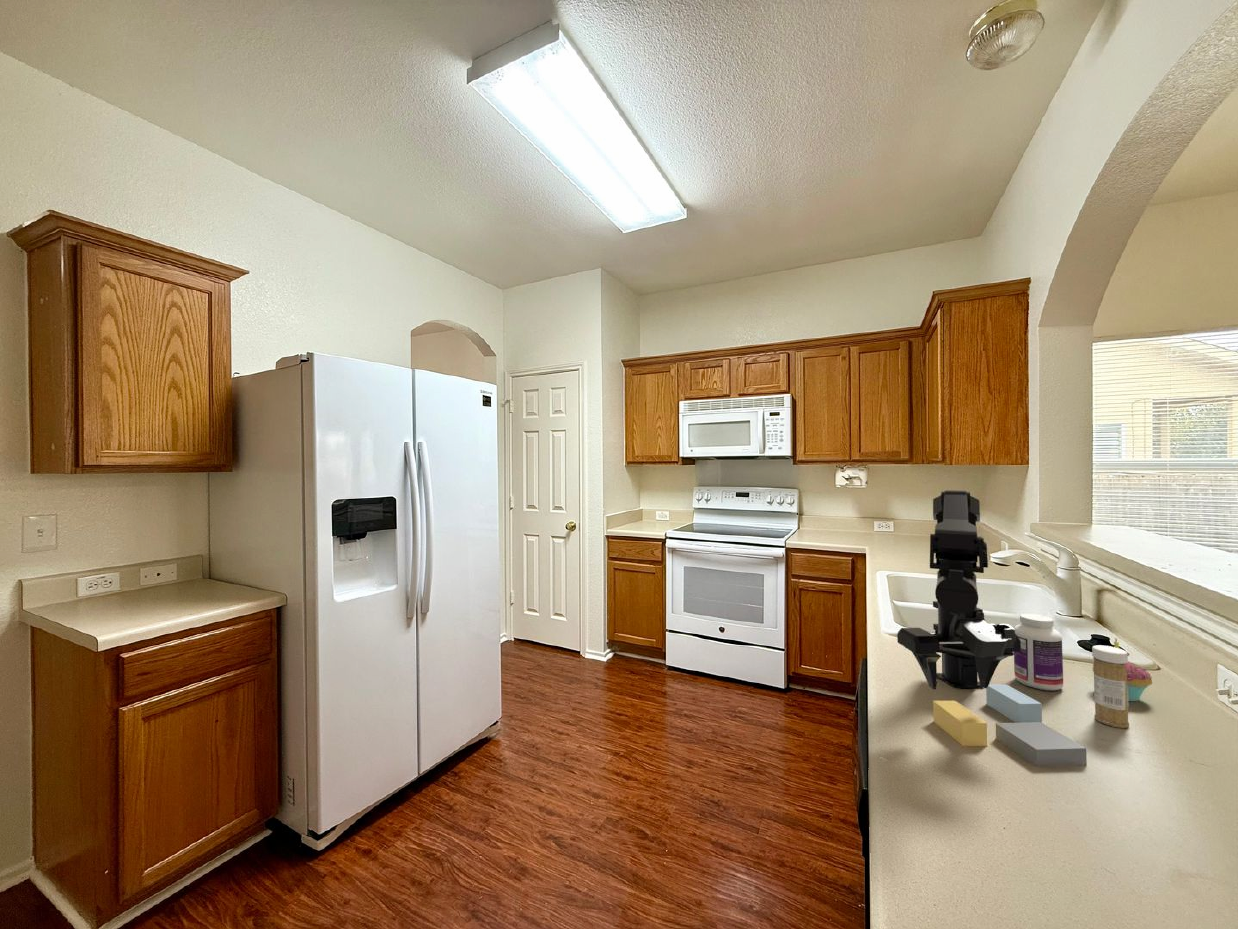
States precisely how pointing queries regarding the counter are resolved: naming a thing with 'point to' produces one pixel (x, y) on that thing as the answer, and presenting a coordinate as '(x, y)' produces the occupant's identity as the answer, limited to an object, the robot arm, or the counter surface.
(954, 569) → the robot arm
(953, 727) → the ochre brick
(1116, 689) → the sprinkles bottle
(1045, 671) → the pill bottle
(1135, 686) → the cupcake
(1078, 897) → the counter surface
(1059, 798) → the counter surface
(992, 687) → the blue brick
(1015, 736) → the base slab
